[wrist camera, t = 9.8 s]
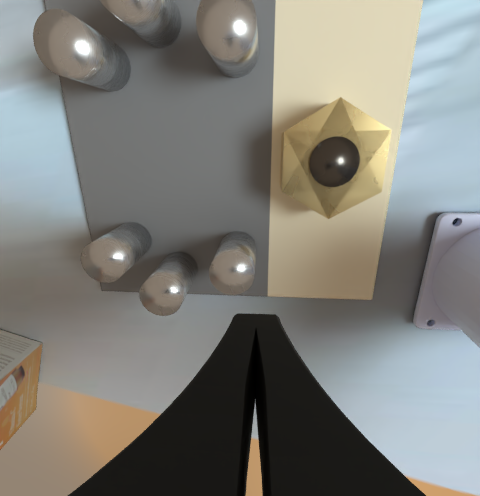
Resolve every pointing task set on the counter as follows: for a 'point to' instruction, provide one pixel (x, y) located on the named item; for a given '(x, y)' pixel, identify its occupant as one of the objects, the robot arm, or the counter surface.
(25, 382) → the small box
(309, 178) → the brass nut
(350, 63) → the spacer mat
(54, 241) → the counter surface
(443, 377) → the counter surface
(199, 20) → the standing spacers
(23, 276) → the counter surface
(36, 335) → the counter surface
